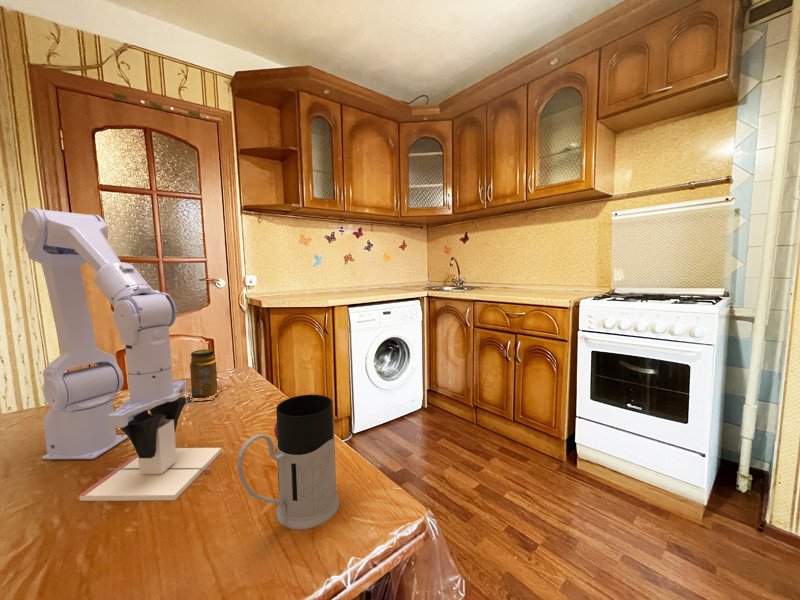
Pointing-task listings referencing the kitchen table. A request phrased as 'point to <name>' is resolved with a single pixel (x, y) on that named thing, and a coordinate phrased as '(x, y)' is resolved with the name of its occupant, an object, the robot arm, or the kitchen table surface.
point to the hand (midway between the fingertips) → (156, 449)
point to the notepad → (152, 478)
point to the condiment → (203, 374)
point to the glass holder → (302, 462)
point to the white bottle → (161, 448)
